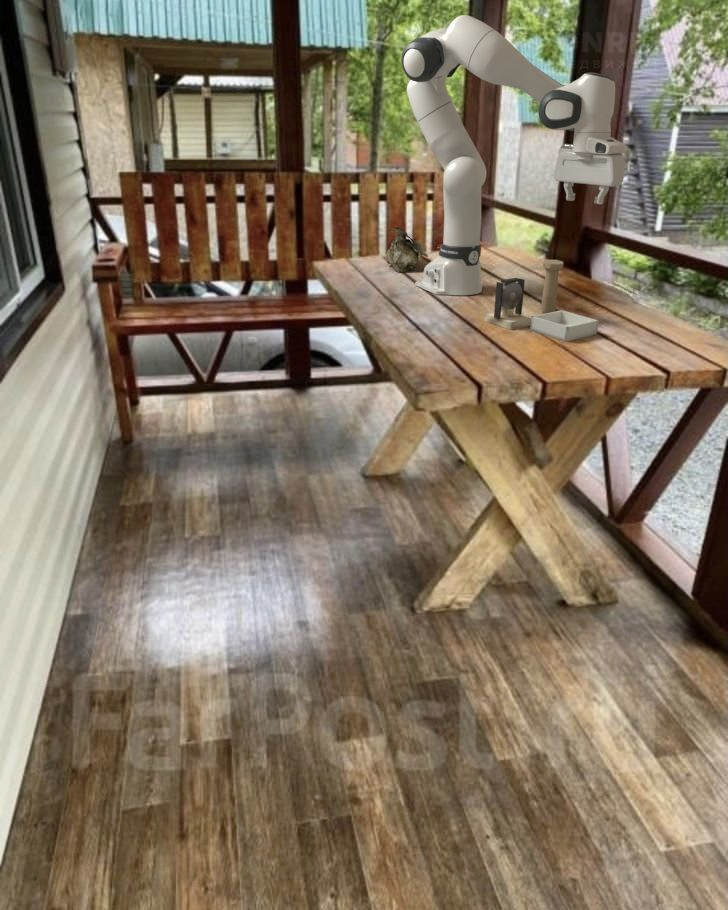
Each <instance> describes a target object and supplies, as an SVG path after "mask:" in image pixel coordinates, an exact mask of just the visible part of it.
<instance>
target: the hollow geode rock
mask: <svg viewBox="0 0 728 910" xmlns="http://www.w3.org/2000/svg"><path fill="white" fill-rule="evenodd" d="M393 229H394V231H395V232H396V236H395V237H394V239H393V240H392V241H391V246H390V248H388V249H387V251H386V254H385V259H386V263H387V264H388V265H391V266H392V268H393V269H394V270H395V272H397V273H405V272H410V271H411V272H412V271H415V270H416V269H415V268H416V267H417V264H418V263H419V255H420V256H423V257H426V258H428V257H429V255H428V253H427V252H426V251H425V250H424V247H423V245H422V244H421V243H419V242H417V241H416V240H414V239H413V238H412V237H410V236H409V234H408V233H407V232H406V231H405V230H404V229H402V228H400V227H399V226H398V227H396V226H393Z"/></svg>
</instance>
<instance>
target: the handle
mask: <svg viewBox="0 0 728 910" xmlns="http://www.w3.org/2000/svg"><path fill="white" fill-rule="evenodd" d="M542 265H543V269H545V277H544V284H543V290H542V295H541V314H546V313H550V312H555V311H556V305H557V302H558V288H559V287H558V286H559V274H560V271H561V270H562V269H563V268H564V261H563V260H558V259H544V260H543V263H542ZM541 314H540V315H541Z"/></svg>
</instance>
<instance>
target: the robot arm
mask: <svg viewBox="0 0 728 910" xmlns="http://www.w3.org/2000/svg"><path fill="white" fill-rule="evenodd" d="M460 66H463V67H464V68H465V69H467V71H469V72H470V73H472V74H473V75H474V76H475V77H478V78H479V79H481V80H483V81H485V82H487V83H490V84H492V85H497V86H503V87H510V88H512V89H513V88H514V89H517V90H520V91H522V92H524V93H525V94H527V95H528V96H529V97H531V98H532V99H534V100H535V101H537V102H539V105H538V110H537V113H538V118H539V121H540V123H541V124H542V125H543V126H544V127H545V128H548V129H549V130H553V131H563V130H564V131H574V134H573V142H572V143H563V145H561V146H560V147H559V149H558V153H557V157H556V161H555V165H554V172H553V178H554V181H556V182H563V188H564V191H565V194H566V195H565V200H566V201H568V202H569V201H570V202H573V201H575V199H576V193H575V192H574V190H573V187H574V184H580V185H581V184H583V185H584V184H585V185H592V186H593V185H594V186H599V187H598V190H599V193H598V194H597V196H594V201H593V203H594V205H603V204H604V199H605V197H606V195H607V194H608V192H609V189H610V187H612V188H613V187H620V185H622V183H623V182H624V178H625V168H626V159H625V156H624V155H623V154H625V153H626V150H627V145H626V144H625V143H624V142H622V141H619V140H617V139H615V138H614V137H611V134H612V133H611V132H612V127H611V122H612V117H613V116H614V111H615V99H616V82H615V80H614V78H612V76H610V75H607V74H604V73H597V72H588V71H587V72H586V73H585V72H584V74H582V75H581V76H580V77H578V78H577V79H576V80H573V81H572V82H570V83H568V84H566V85H564V84H561V83H559V82H558V81H557V80H556V79H554V78H552V77H551V76H549V75H548V74H547V73H545V72H543V71H542V70H541V69H539V68H538V67H537V66H535V65H534V64H533V63H532V62H531V61H529V60H528V58H526V57H525V55H524V54H523V53H521V52H520V51H519V50H518V48H516V47H515V46H514V44H513V43H511V42H510V41H509V40H508V39H507V38H505V36H503V35H502V34H501V33H500V32H499V31H497V30H496V29H494V28H493V27H491V26H490V25H488V24H487V23H485V22H484V21H482V20H479V19H477V18H475V17H473V16H471V15H468V14H461V15H459V16H456V18H454V19H453V20H452V21H451V23H450V24H449V25H448V26H445V27H441V28H438V29H433V30H431V31H429V32H427V33H425V34H424V35H422V36H420V37H416V38H414V39H413V40H411V41H410V42H409V43H407V45H406V46H405V47H404V49H403V50H402V54H401V67H402V70H403V73H404V75H405V76H406V77H407V78H408V79H409V82H408V83H407V86H406V95H407V97H408V101H409V104H410V107H411V111H412V113H413V115H414V118H415V120H416V122H417V125H418V126H419V128H420V130H421V132H422V134H423V136H424V138H425V140H426V142H427V145H428V147H429V149H430V150H431V152H433V154H434V156H435V158H436V160H437V161H438V162H439V164H440V165H441V167H442V169H443V171H444V172H443V178H442V181H443V182H442V183H443V184H442V185H443V188H442V189H443V190H442V191H443V193H442V194H443V195H442V196H443V212H444V213H443V215H444V218H443V239H442V240H443V241H442V243H440V244H437V248H436V249H438V250H439V252H438V255H437V256H436V257H435V258H433V259H432V260H431V261H430V262H429V263H427V264H426V265H425V266H424V269H423V276H422V279H420V280H417V281H415V282H414V283H415V284H414V285H415V286H416V287H418V288H421V289H423V290H425V291H427V292H429V293H432V294H433V295H448V296H449V295H450V296H469V295H470V296H472V295H477V294H481V293H482V292H483V288H484V286H483V283H482V271H481V269H482V268H481V267H482V266H481V261H480V257H481V256H482V255H481V254H482V245H481V232H482V231H481V230H482V186H483V185H484V184H485V182H486V179H487V168H486V165H485V163H484V160H483V159H482V157H481V155H480V152H479V151H478V149H477V148H476V145H475V143H474V142H473V140H472V138H471V137H470V135H469V133H468V131H467V129H466V128H465V126H464V124H463V122H462V119H461V117H460V115H459V112H458V111H457V109H456V106H455V104H454V102H453V99H451V96H450V95H449V92H448V90H447V86H446V80H447V78H452V77H453V76H454V74H455V72H456V71H457V70H458V69H459V67H460Z"/></svg>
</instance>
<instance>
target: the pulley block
mask: <svg viewBox="0 0 728 910" xmlns="http://www.w3.org/2000/svg"><path fill="white" fill-rule="evenodd" d="M525 280H526V279H523V278H520V277H519V278H518V277H511V278H505V279H500V282H499V281H497V282H496V286H495V287H496V288H495V300H494V311H493V312H488V313H484V322H486V323H488V324H490V325H491V324H492V325H496V326H498V327H501V328H505V329H507V330H511V331H512V330H516V329H521V328H526V327H527V328H528V327H530V324H531V317H527V316H525V315H522V312H523V305H524V303H523V301H524V293H525V291H524V290H525V282H526V281H525Z"/></svg>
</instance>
